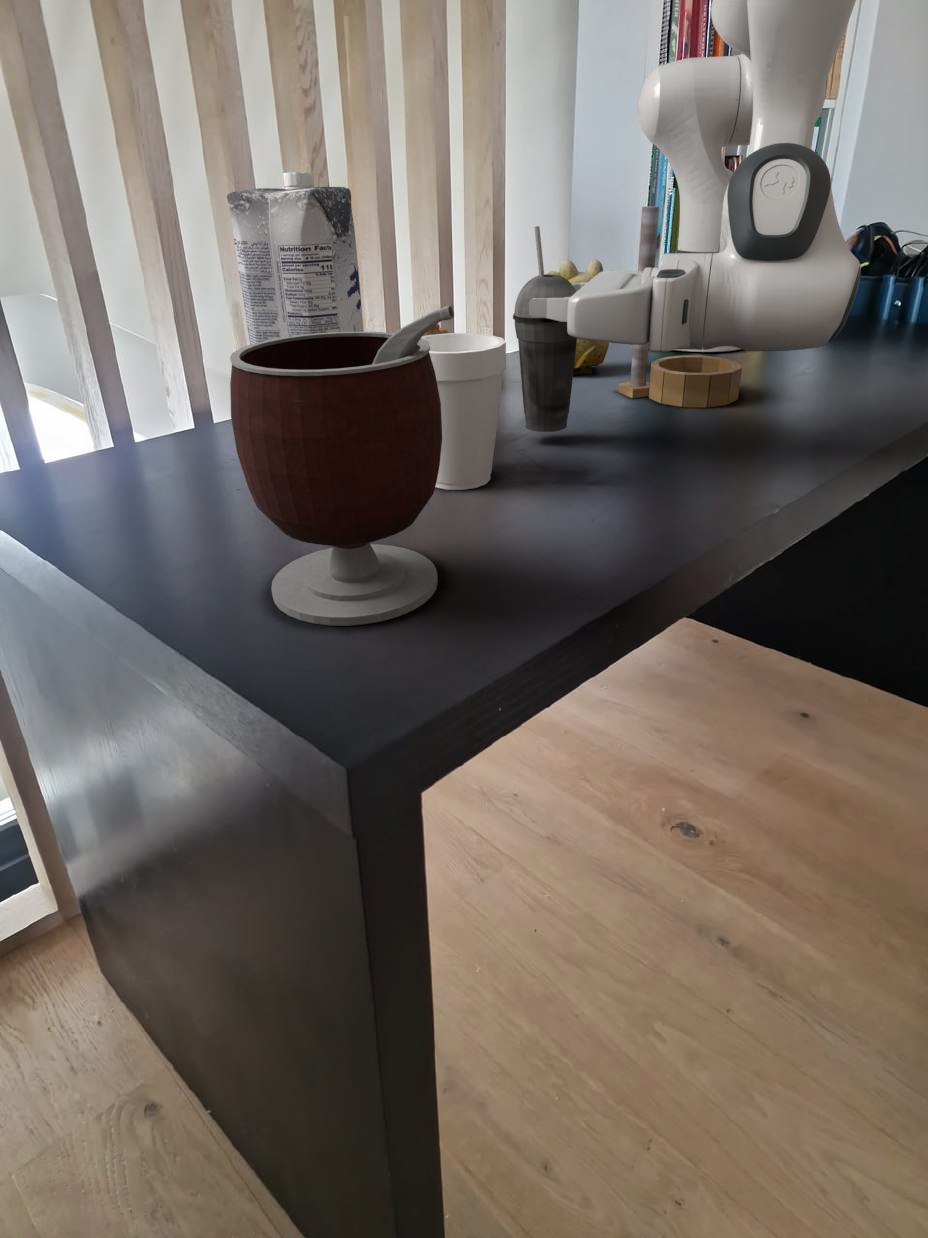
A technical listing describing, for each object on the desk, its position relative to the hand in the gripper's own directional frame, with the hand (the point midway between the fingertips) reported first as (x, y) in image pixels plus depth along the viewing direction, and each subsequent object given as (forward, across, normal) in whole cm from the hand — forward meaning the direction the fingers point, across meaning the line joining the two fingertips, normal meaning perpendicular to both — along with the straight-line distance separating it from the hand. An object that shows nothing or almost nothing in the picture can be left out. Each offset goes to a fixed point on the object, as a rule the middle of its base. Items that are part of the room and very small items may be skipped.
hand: (539, 300), depth 85 cm
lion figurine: (+20, -25, +15) cm, 35 cm away
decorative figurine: (+1, -33, +15) cm, 36 cm away
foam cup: (+5, +14, +15) cm, 21 cm away
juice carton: (+22, +9, +15) cm, 28 cm away
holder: (-16, -22, +15) cm, 31 cm away
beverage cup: (-1, 0, +13) cm, 13 cm away
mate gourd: (+5, +38, +15) cm, 41 cm away
